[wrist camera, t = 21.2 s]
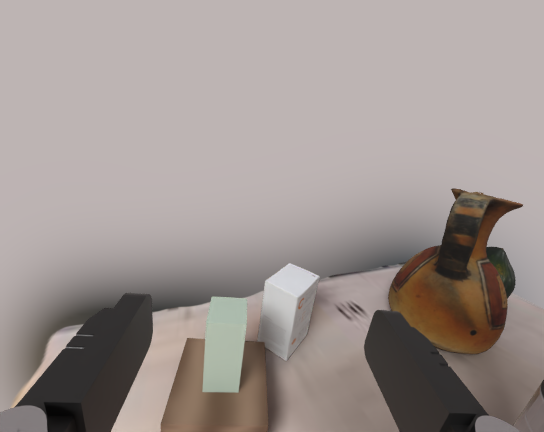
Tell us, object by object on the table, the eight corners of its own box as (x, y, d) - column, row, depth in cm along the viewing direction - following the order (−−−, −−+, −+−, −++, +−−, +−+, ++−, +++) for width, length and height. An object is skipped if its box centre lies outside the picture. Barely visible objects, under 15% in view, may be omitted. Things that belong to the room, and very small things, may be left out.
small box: (279, 318, 52) (289, 261, 48) (307, 334, 49) (321, 275, 45) (255, 342, 46) (264, 279, 41) (286, 362, 43) (299, 297, 38)
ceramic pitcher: (492, 332, 57) (562, 202, 46) (481, 391, 42) (578, 222, 32) (401, 287, 69) (440, 177, 59) (368, 321, 55) (412, 183, 44)
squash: (432, 270, 69) (497, 246, 60) (438, 255, 80) (493, 232, 71) (466, 320, 66) (540, 303, 57) (467, 296, 77) (528, 279, 69)
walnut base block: (261, 360, 42) (264, 342, 41) (264, 447, 31) (268, 425, 30) (186, 357, 41) (187, 338, 40) (161, 446, 30) (160, 424, 29)
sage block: (239, 361, 37) (247, 298, 33) (238, 392, 33) (246, 324, 29) (207, 360, 37) (211, 296, 33) (202, 392, 32) (206, 322, 29)
